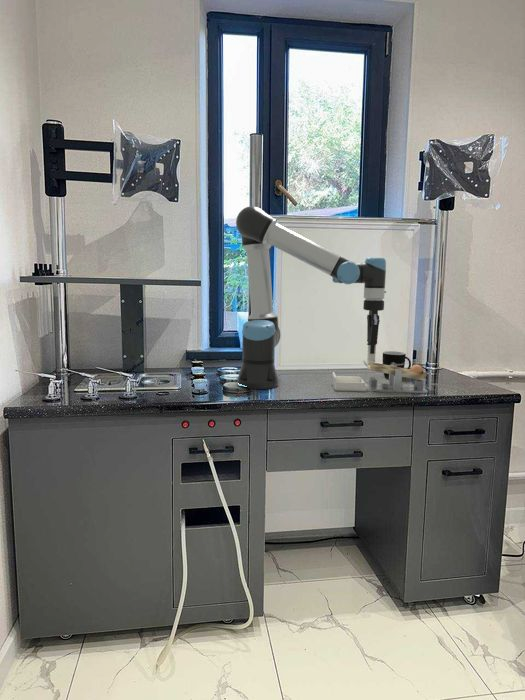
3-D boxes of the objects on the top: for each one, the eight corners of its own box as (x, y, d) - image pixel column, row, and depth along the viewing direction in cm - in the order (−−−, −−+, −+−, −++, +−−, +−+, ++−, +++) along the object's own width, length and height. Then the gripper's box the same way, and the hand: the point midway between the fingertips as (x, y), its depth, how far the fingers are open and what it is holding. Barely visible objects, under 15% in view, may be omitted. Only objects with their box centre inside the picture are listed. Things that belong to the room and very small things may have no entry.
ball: (411, 375, 183) (413, 364, 182) (408, 373, 187) (410, 362, 186) (422, 377, 183) (424, 366, 182) (419, 375, 187) (421, 364, 186)
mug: (387, 380, 201) (388, 354, 199) (377, 375, 210) (379, 351, 208) (415, 379, 203) (416, 354, 202) (404, 375, 212) (406, 350, 210)
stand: (368, 391, 181) (369, 369, 180) (363, 384, 192) (364, 364, 191) (427, 393, 180) (429, 371, 179) (419, 386, 191) (421, 365, 190)
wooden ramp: (369, 372, 182) (371, 361, 181) (362, 364, 197) (365, 354, 197) (424, 383, 181) (427, 372, 181) (413, 374, 197) (416, 364, 196)
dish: (334, 390, 181) (335, 378, 181) (332, 383, 192) (332, 372, 192) (366, 391, 181) (367, 378, 180) (362, 384, 192) (362, 372, 191)
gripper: (387, 300, 184) (384, 365, 187) (380, 298, 197) (378, 359, 200) (366, 300, 184) (363, 364, 188) (361, 298, 197) (358, 358, 200)
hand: (371, 361), depth 194 cm, fingers closed
